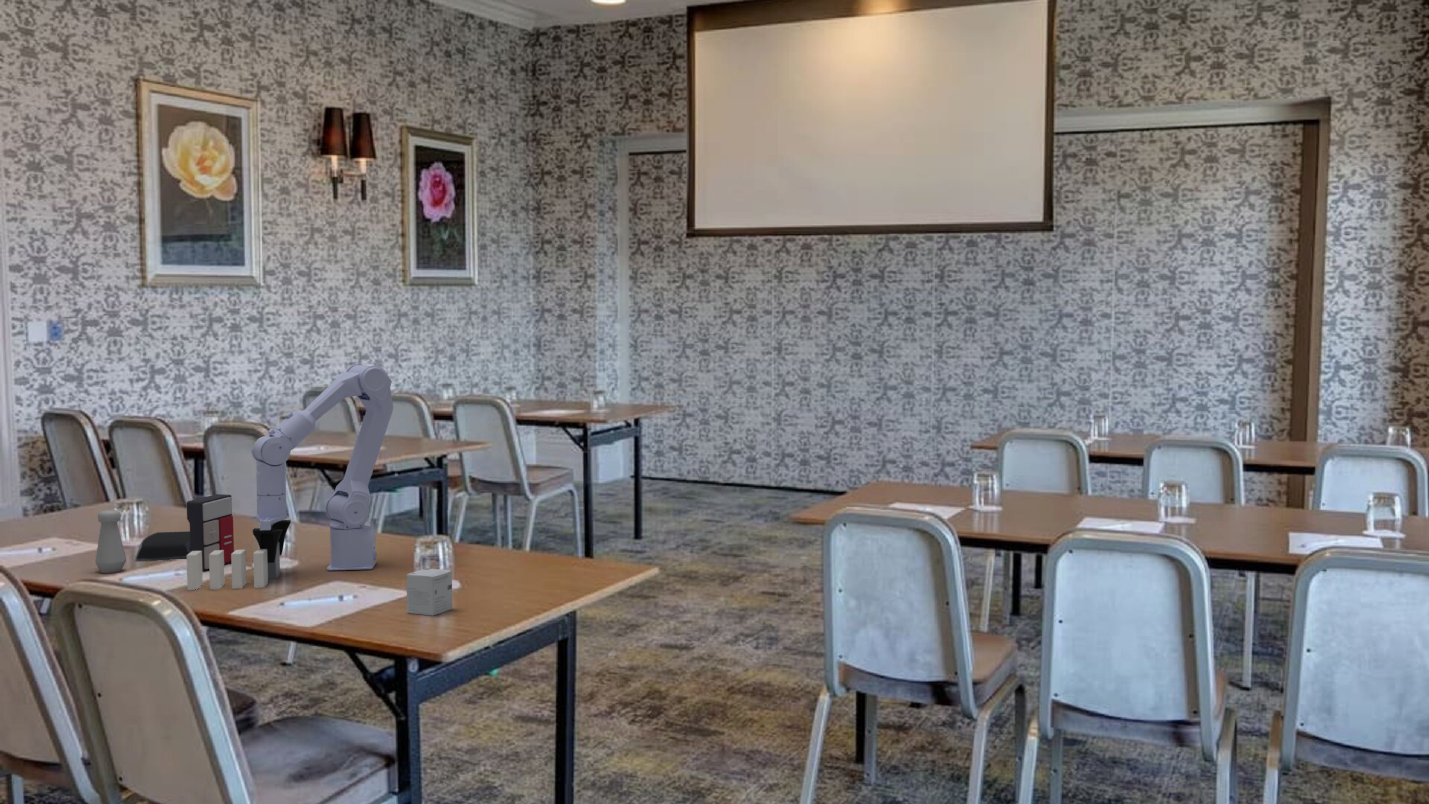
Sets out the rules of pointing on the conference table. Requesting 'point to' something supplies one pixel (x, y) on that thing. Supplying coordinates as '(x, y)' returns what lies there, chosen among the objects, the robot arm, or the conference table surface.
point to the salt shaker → (110, 543)
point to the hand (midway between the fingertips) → (272, 558)
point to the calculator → (211, 526)
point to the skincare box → (429, 591)
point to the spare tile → (274, 566)
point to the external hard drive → (164, 546)
